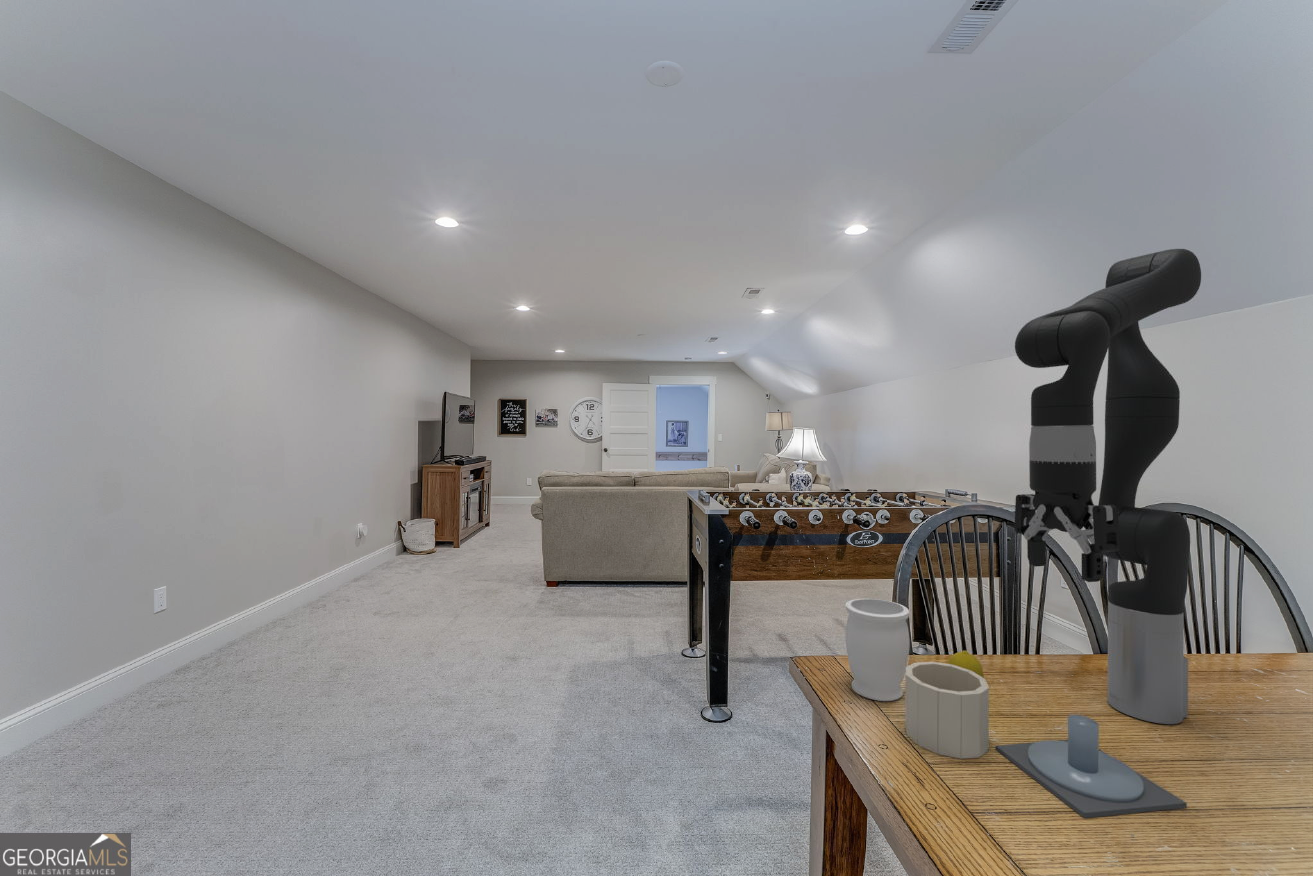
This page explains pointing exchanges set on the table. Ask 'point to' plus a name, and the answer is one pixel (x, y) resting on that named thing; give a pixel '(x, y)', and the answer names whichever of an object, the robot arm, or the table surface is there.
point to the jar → (877, 647)
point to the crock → (947, 709)
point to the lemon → (967, 662)
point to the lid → (1085, 765)
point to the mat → (1090, 807)
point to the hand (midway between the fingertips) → (1062, 573)
